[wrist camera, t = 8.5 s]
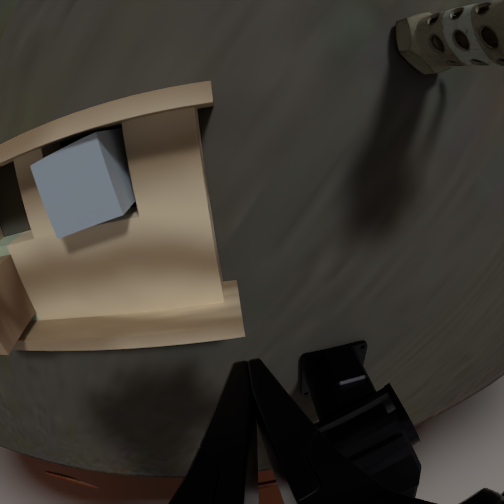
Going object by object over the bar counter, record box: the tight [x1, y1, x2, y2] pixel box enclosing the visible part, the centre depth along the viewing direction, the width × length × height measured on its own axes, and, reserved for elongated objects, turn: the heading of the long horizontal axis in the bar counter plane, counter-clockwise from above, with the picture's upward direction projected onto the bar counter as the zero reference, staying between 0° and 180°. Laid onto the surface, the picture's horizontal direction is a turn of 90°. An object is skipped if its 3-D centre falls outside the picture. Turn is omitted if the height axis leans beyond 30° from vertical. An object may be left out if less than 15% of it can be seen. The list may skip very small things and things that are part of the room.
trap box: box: [0, 81, 245, 351], centre depth 16 cm, size 14×22×5 cm, turn 96°
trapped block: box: [30, 128, 136, 239], centre depth 15 cm, size 4×4×4 cm
